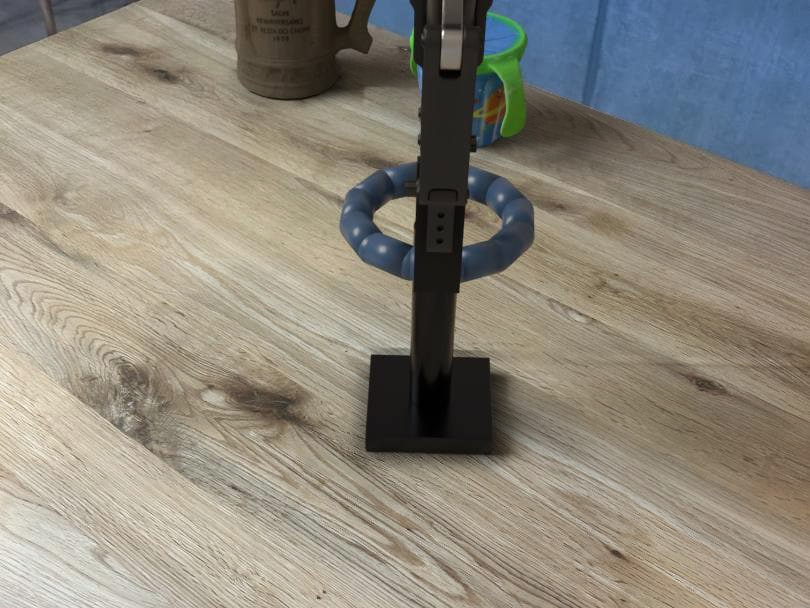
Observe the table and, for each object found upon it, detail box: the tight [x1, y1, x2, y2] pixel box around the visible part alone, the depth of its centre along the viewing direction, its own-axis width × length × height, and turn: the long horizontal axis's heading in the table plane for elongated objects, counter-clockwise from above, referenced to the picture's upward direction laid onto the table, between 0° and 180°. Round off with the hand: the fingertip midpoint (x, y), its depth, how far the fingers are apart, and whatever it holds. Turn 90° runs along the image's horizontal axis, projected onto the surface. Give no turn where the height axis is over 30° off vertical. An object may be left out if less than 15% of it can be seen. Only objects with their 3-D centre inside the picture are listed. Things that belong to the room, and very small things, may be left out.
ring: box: [338, 160, 536, 284], centre depth 65 cm, size 12×12×2 cm
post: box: [364, 221, 495, 455], centre depth 72 cm, size 9×9×16 cm
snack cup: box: [409, 11, 529, 149], centre depth 100 cm, size 16×10×10 cm
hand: (436, 273), depth 63 cm, fingers closed on ring, 2 cm apart
